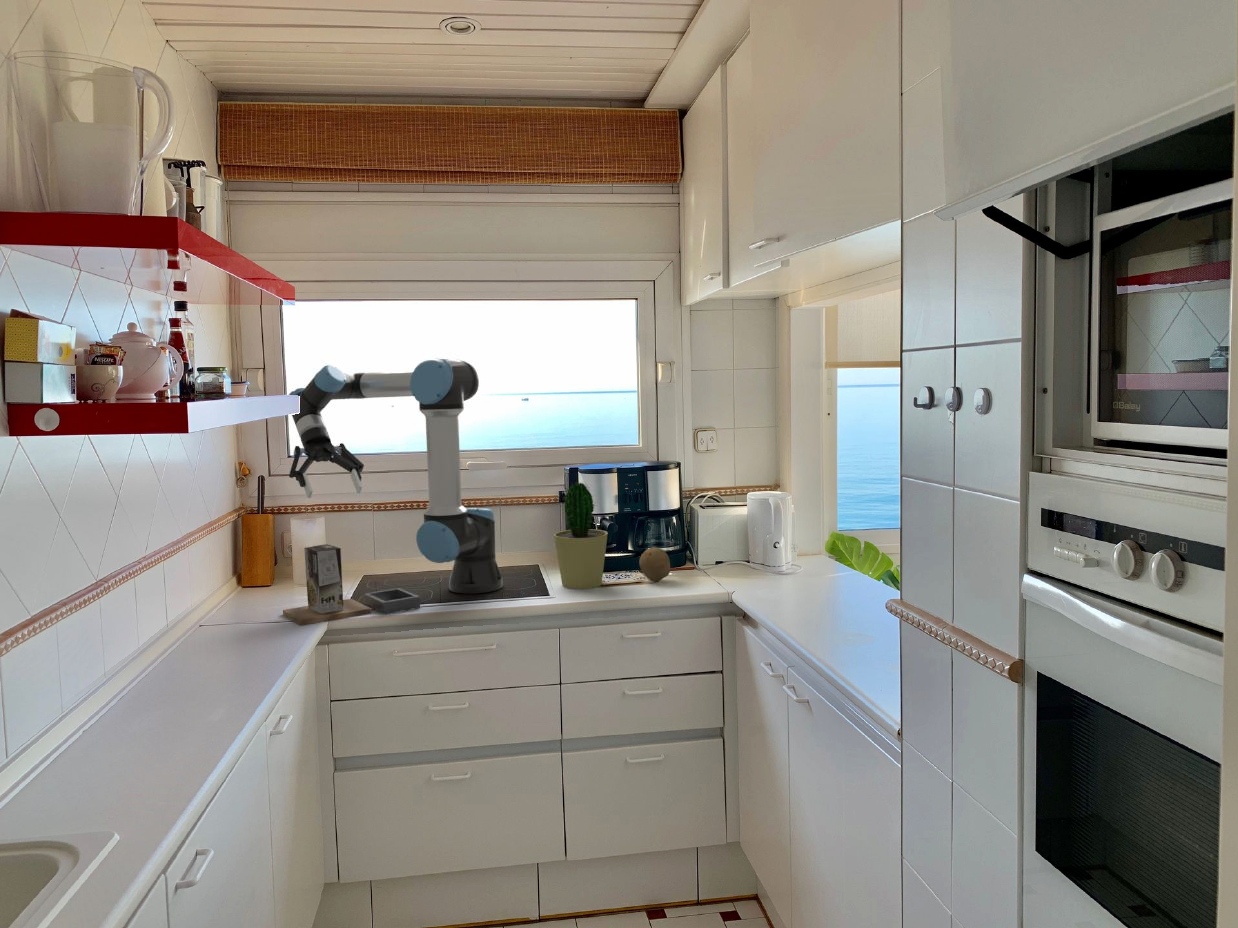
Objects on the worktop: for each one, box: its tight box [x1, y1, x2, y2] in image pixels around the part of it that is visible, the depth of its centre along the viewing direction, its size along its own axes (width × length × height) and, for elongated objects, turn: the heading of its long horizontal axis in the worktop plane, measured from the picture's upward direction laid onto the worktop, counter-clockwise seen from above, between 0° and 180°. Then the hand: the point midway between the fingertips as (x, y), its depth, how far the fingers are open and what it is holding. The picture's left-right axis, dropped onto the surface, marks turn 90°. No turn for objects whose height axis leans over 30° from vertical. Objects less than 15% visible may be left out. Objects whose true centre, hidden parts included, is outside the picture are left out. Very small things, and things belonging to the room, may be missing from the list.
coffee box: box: [303, 543, 344, 614], centre depth 237 cm, size 9×6×16 cm
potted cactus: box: [553, 482, 609, 590], centre depth 263 cm, size 15×15×30 cm
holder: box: [363, 587, 421, 615], centre depth 244 cm, size 10×13×3 cm
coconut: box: [638, 546, 671, 583], centre depth 266 cm, size 9×9×10 cm
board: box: [282, 598, 372, 626], centre depth 237 cm, size 18×14×1 cm
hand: (335, 492), depth 249 cm, fingers open, 13 cm apart
